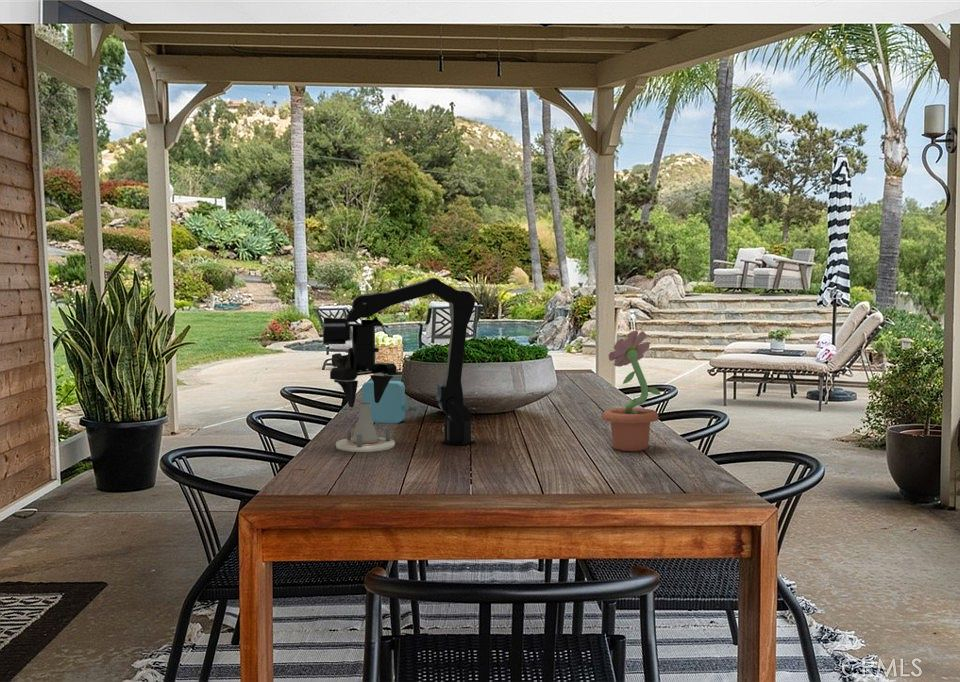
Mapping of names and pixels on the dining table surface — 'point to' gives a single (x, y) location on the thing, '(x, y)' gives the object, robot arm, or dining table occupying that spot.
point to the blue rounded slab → (386, 402)
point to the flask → (365, 425)
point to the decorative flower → (629, 421)
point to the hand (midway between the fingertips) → (364, 404)
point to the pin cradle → (368, 447)
